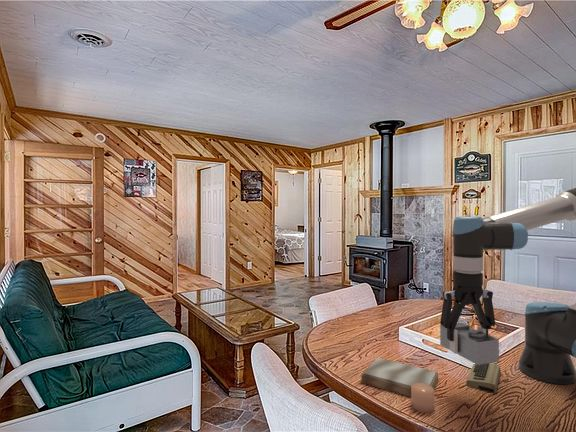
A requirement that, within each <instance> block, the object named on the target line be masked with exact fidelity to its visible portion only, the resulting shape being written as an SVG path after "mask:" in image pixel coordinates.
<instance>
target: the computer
mask: <svg viewBox="0 0 576 432" xmlns="http://www.w3.org/2000/svg"><path fill="white" fill-rule="evenodd" d="M500 375H501V366H500V364H498V363H494V362H493V363H487V364H481V365H477V364H472V366H471V368H470V371H469V374H468V376H467V378H466V381H465V382H466V383H465V384H466V386H467V387H470V388H474V389H477V390H481V391H484V392H485V391H486V392H490V393H493V394H497V389H498V385H499V381H500V377H501V376H500Z"/></svg>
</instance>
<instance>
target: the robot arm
mask: <svg viewBox="0 0 576 432" xmlns="http://www.w3.org/2000/svg"><path fill="white" fill-rule="evenodd" d="M564 220H567V221H576V187H575V188H571V189H567V190H565V191H560V192H558V194H557V195H556V196H555V197H551V198H548V199H544V200H541V201H538V202H535V203H531V204H527V205H524V206H521V207H518V208H517V207H516V208H515V209H511V210H507V211H504V212H500V213H497V214H494V215H490V216H486V217H484V218H483V217H482V216H470V215H469V216H456V217H455V218H454V219H453V224H452V255H453V257H452V262H453V263H452V267H453V268H452V269H453V271H452V283H453V288H452V290H450V291H446V290H444V291H443V292H442V298H443V301H442V307H441V314H440V320H439V321H440V322H439V324H440V325H442V326H443V327H445V328H447V339H448V340H450V350H449V351H451V353H453V354H456V355H458V331H457V330H456V329H455V327H456V325H457V323H459V322H458V321H459V319H460V317H461V315H462V312H463V309H465V307H466V306H467V305H471V306H472V308H473V311H474V313H475V316H476V318H477V319H478V320H477V321H478V323H479V325H477V329H476V330H478V331H481V332H484V333H485V334H488V335H489V330H492V327H495V326H496V318H495V312H494V303H493V295H494V292H493V291H491V290H488V289H484V288H483V285H484V274H483V270H484V251H488V250H489V251H491V250H493V251H495V250H496V251H497V250H498V251H499V250H510V251H513V250H520V249H523V248H524V247H526V245H527V244H528V240H529V232H528V231H529V230H533V229H537V228H540V227H543V226H548V225H550V224H554V223H558V222H560V221H561V222H562V221H564ZM454 297H455V298H454ZM481 297H482V301H481V300H480V298H481ZM453 300H454V301H453ZM524 315H525V316H524V317H525V318H524V319H525V320H524V322H525V324H524V326H525V327H524V329H525V331H524V333H525V337H524V338H525V339H524V340H525V342H524V343H525V344H524V345H525V346H524V348H523V350H522V352H521V355H520V357H519V359H518V369H519V370H520V371H521V372H522V373H523V374H524V375H527V376H529V377H531V378H533V379H536V380H538V381H542V382H545V383H551V384H555V385H571V384H574V383H576V368H575V365H574V362H573V360H572V357H573V358H575V359H576V303H574V304H571V305H568V304H564V303H559V302H551V301H550V302H548V301H533V302H529V303H527V304H526V305H525V312H524ZM440 325H439V326H440ZM571 356H572V357H571Z"/></svg>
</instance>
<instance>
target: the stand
mask: <svg viewBox="0 0 576 432" xmlns="http://www.w3.org/2000/svg"><path fill="white" fill-rule="evenodd" d="M438 381H439V372H437V371H435V370H431V369H427V368H423V367H418V366H414V365H410V364H406V363H401V362H398V361H393V360H389V359H385V358H380V357H376V358H375V359H374V360H373V361H372V363H370V365H369V366H368V367H367V368H366V369H365V370H364V371H363V373H362V374H361V381H360V382H361V384H365V385H369V386H372V387H375V388H379V389H383V390H385V391H389V392H393V393H396V394H400V395H404V396H407V397H410V398H411V385H412V384H415V383H424V384H427V385H430V386H431V387H433V389H434V390H435V388H436V386H437V384H438Z"/></svg>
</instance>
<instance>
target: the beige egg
mask: <svg viewBox="0 0 576 432" xmlns="http://www.w3.org/2000/svg"><path fill="white" fill-rule="evenodd" d="M410 401H411V402H410V404H411V407H412V408H413V409H414V410H415V411H418V412H420V413H424V414H428V413H432V412H434V411H435V389H433V387H431V386H430V385H427V384H424V383H415V384H412V385H411V397H410Z"/></svg>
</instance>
